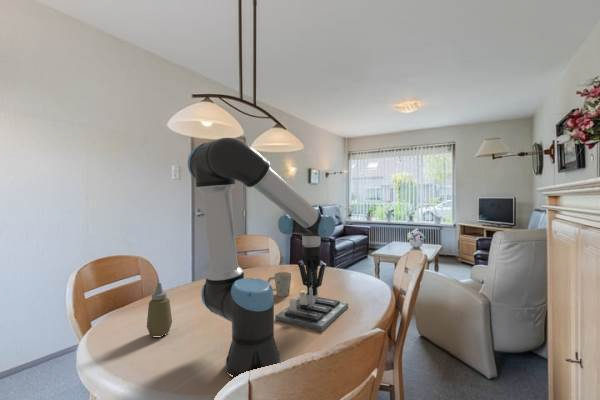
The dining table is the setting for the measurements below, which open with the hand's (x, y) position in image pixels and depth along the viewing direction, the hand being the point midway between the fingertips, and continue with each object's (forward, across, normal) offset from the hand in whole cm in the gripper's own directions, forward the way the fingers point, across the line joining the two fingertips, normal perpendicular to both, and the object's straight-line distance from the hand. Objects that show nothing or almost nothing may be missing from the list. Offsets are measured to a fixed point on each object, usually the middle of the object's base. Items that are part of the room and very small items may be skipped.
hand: (312, 303), depth 119 cm
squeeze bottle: (+4, +38, +42) cm, 57 cm away
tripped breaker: (+1, +4, 0) cm, 4 cm away
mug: (+4, +26, -13) cm, 29 cm away
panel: (+4, 0, 0) cm, 4 cm away
